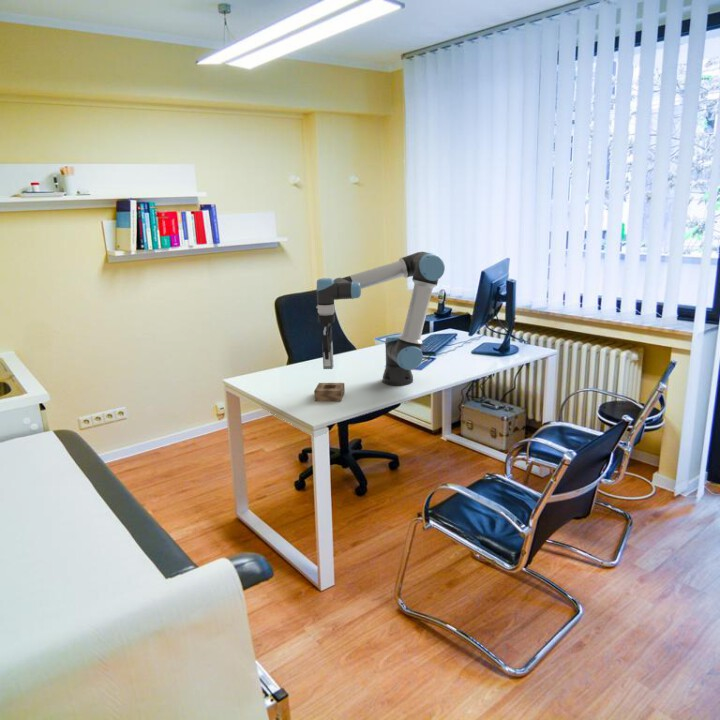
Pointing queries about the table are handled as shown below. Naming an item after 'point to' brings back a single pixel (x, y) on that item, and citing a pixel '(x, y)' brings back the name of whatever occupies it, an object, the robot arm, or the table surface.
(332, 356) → the metal peg
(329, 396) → the brown square hole block
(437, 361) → the table surface
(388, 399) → the table surface
